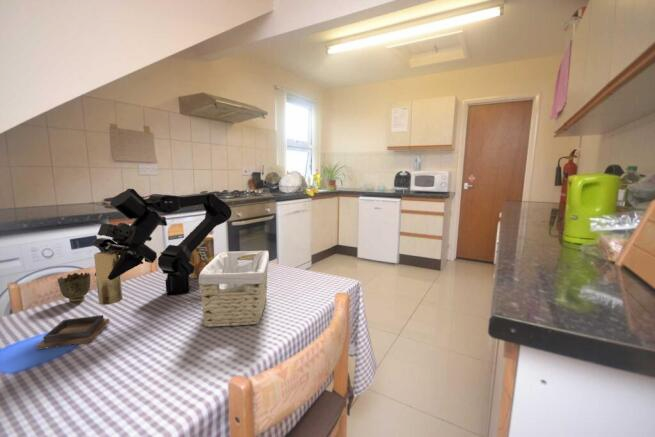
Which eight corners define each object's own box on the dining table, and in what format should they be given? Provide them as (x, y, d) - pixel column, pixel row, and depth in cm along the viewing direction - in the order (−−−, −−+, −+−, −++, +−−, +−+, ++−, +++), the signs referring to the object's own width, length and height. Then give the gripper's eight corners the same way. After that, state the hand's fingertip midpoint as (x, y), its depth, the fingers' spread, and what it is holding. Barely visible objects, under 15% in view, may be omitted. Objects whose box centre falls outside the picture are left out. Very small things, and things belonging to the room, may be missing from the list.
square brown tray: (109, 321, 74) (108, 313, 74) (92, 341, 65) (91, 332, 65) (62, 327, 71) (61, 318, 71) (36, 349, 62) (35, 339, 62)
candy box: (214, 272, 114) (213, 235, 112) (215, 276, 110) (213, 237, 108) (190, 275, 110) (188, 237, 108) (190, 279, 106) (188, 239, 104)
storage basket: (221, 293, 94) (219, 250, 92) (270, 291, 96) (270, 249, 94) (198, 331, 70) (195, 274, 68) (264, 328, 73) (263, 273, 70)
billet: (127, 297, 77) (123, 251, 75) (112, 305, 72) (108, 256, 71) (109, 296, 77) (105, 250, 76) (93, 304, 73) (88, 255, 71)
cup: (73, 308, 82) (70, 281, 80) (53, 305, 83) (50, 279, 82) (99, 297, 89) (96, 273, 88) (80, 295, 90) (77, 271, 89)
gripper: (97, 209, 79) (51, 257, 70) (142, 213, 72) (98, 267, 63) (128, 232, 87) (91, 278, 78) (172, 238, 80) (136, 288, 72)
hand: (102, 277), depth 73 cm, fingers closed on billet, 5 cm apart
